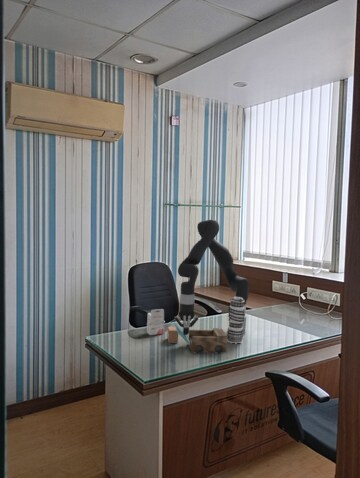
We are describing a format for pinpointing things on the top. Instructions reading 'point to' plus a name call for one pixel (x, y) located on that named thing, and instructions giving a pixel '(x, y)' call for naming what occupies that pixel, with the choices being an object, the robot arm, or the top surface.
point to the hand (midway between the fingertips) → (185, 334)
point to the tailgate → (182, 334)
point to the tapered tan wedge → (172, 334)
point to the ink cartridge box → (155, 322)
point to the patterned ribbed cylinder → (236, 320)
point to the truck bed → (208, 340)
